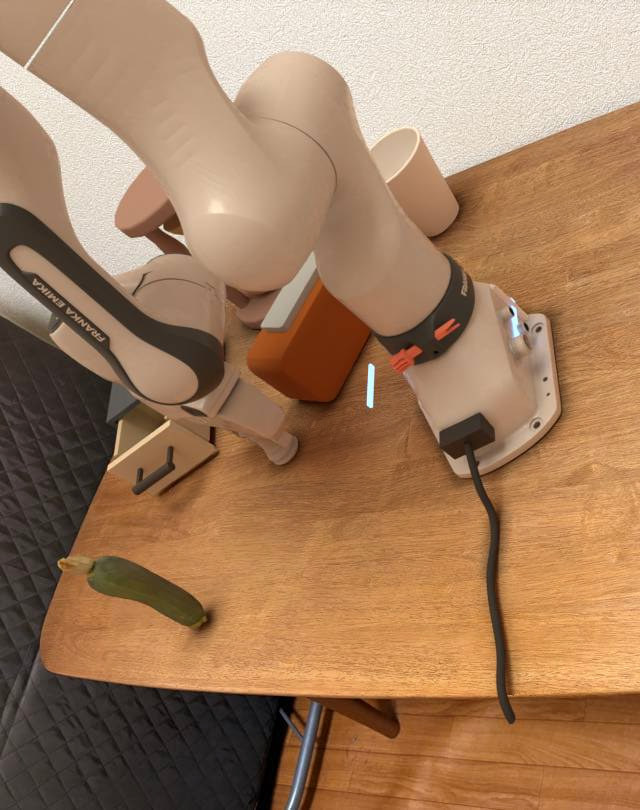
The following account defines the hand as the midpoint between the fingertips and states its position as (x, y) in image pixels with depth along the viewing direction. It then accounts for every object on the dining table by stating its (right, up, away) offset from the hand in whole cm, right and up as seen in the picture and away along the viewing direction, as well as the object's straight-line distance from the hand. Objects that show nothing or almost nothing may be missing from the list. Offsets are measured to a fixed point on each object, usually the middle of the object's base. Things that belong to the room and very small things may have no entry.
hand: (265, 437), depth 110 cm
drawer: (-17, -2, +15) cm, 23 cm away
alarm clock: (+10, +14, +9) cm, 19 cm away
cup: (+22, +31, +12) cm, 40 cm away
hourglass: (-6, +24, +27) cm, 37 cm away
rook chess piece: (+2, -2, +2) cm, 4 cm away
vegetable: (-5, -22, -7) cm, 23 cm away
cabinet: (-20, +6, +24) cm, 32 cm away
